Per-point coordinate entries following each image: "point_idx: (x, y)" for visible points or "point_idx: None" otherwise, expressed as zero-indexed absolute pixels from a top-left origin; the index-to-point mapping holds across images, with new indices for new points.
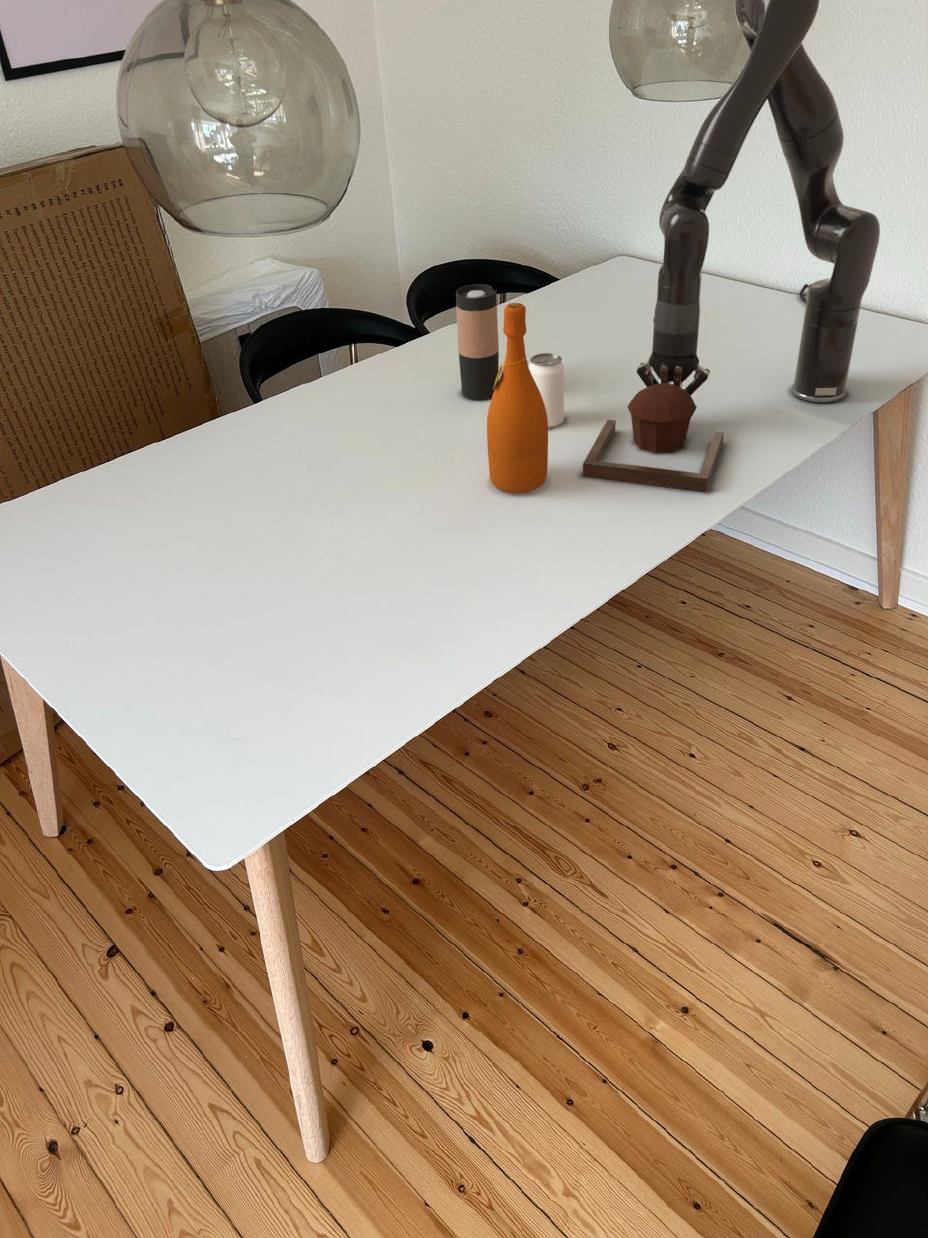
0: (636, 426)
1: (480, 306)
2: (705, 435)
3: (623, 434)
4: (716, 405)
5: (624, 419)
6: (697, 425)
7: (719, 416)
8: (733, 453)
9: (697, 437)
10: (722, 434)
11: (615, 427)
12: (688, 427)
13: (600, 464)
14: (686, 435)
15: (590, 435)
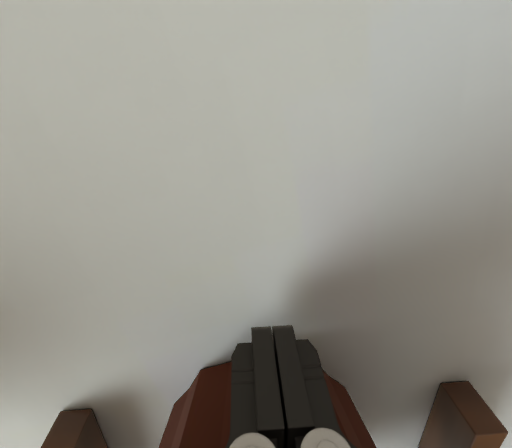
0: None
1: None
2: (414, 340)
3: (124, 406)
4: (502, 8)
5: (61, 313)
6: (384, 279)
7: (494, 164)
8: (494, 407)
9: (385, 358)
10: (499, 445)
11: (81, 434)
12: (372, 441)
13: None
14: (354, 407)
15: (21, 437)
